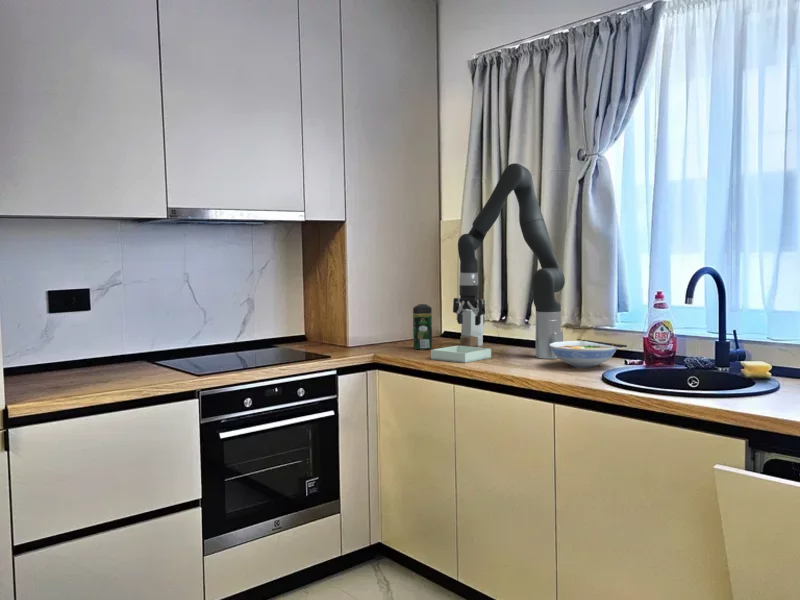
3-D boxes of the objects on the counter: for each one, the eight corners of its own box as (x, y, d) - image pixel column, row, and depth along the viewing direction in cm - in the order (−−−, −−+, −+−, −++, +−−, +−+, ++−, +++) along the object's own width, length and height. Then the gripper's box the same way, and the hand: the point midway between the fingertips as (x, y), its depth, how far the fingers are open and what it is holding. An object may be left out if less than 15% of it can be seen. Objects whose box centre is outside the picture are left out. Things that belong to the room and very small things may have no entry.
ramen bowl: (534, 363, 242) (534, 340, 242) (588, 359, 250) (588, 336, 250) (577, 374, 219) (577, 348, 218) (635, 369, 227) (635, 344, 227)
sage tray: (491, 357, 257) (491, 348, 256) (465, 363, 245) (465, 353, 245) (457, 354, 268) (457, 345, 267) (430, 359, 256) (430, 349, 256)
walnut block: (477, 351, 275) (477, 336, 275) (470, 353, 271) (470, 337, 271) (467, 350, 278) (467, 335, 278) (460, 352, 275) (460, 337, 274)
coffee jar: (413, 347, 291) (413, 303, 290) (432, 347, 291) (431, 303, 290) (413, 350, 281) (412, 305, 280) (432, 350, 281) (431, 304, 280)
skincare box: (460, 344, 297) (460, 308, 296) (473, 343, 300) (473, 308, 299) (470, 346, 290) (470, 310, 289) (484, 345, 292) (483, 309, 291)
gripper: (489, 284, 271) (488, 325, 272) (460, 283, 281) (460, 322, 282) (477, 285, 266) (477, 326, 267) (449, 283, 275) (449, 324, 277)
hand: (468, 324), depth 275 cm, fingers open, 8 cm apart
